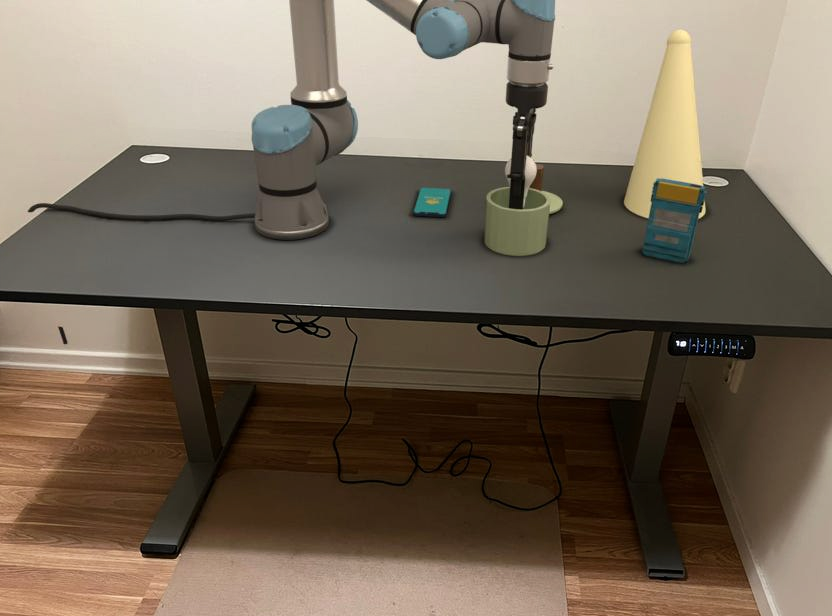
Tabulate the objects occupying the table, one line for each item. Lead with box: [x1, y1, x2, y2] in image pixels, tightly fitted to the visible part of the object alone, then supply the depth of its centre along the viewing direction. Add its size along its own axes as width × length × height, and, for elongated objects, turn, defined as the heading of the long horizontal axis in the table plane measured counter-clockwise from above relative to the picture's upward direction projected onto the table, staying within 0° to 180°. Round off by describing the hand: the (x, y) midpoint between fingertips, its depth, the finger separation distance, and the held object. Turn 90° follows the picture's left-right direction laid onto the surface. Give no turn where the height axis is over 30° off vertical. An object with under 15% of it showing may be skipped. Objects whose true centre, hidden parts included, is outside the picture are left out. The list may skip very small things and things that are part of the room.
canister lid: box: [529, 163, 564, 215], centre depth 162 cm, size 14×14×9 cm
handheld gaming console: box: [641, 178, 707, 264], centre depth 140 cm, size 10×4×15 cm, turn 64°
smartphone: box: [412, 187, 452, 218], centre depth 164 cm, size 7×1×15 cm
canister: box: [483, 186, 551, 257], centre depth 146 cm, size 13×13×10 cm
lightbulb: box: [504, 156, 537, 207], centre depth 141 cm, size 6×6×11 cm
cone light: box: [623, 29, 707, 220], centre depth 158 cm, size 25×18×35 cm
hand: (518, 202), depth 143 cm, fingers closed on lightbulb, 6 cm apart
